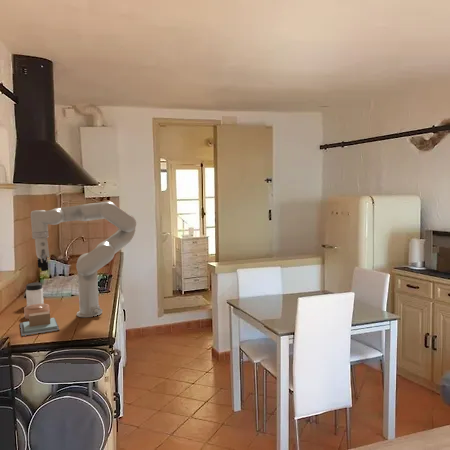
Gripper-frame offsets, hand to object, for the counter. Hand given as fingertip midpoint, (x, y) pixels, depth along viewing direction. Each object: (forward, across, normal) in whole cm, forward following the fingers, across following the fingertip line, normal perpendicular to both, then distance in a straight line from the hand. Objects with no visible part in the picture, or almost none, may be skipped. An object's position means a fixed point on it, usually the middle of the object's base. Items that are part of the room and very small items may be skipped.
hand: (43, 268), depth 226 cm
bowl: (+25, +6, +4) cm, 26 cm away
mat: (+25, -14, +6) cm, 29 cm away
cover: (+25, -14, +5) cm, 29 cm away
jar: (+25, +29, +1) cm, 38 cm away
